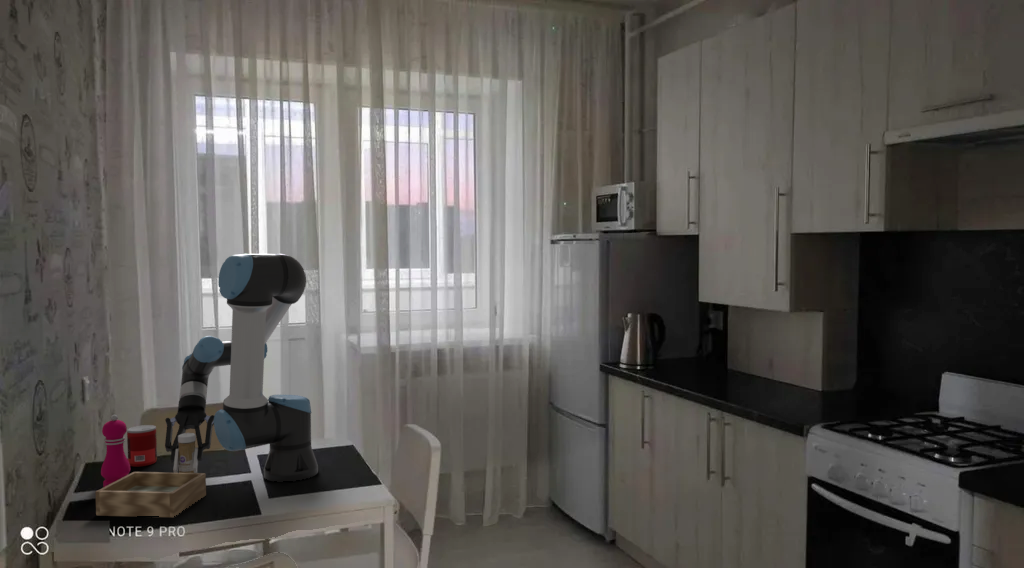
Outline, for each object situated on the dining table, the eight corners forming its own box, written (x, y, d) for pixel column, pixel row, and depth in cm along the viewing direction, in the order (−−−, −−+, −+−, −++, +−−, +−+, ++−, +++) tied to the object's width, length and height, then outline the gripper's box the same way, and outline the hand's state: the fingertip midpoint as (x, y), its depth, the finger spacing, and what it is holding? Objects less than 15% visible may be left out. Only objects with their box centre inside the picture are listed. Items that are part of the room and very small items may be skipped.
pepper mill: (118, 490, 198) (115, 418, 197) (95, 489, 200) (92, 417, 199) (136, 482, 206) (134, 412, 205) (114, 480, 207) (112, 411, 206)
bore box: (206, 495, 195) (205, 473, 194) (173, 517, 179) (173, 493, 178) (134, 493, 196) (133, 471, 196) (96, 515, 180) (95, 491, 180)
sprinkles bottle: (176, 483, 204) (175, 436, 203) (183, 478, 209) (181, 432, 208) (192, 483, 204) (191, 436, 204) (199, 478, 209) (198, 432, 208)
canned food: (162, 461, 225) (161, 426, 225) (137, 468, 219) (136, 432, 218) (148, 458, 229) (147, 423, 229) (123, 464, 223) (121, 429, 222)
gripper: (224, 405, 223) (219, 475, 208) (162, 409, 218) (153, 480, 203) (222, 391, 217) (217, 461, 202) (158, 395, 213) (148, 467, 197)
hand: (185, 471), depth 203 cm, fingers closed on sprinkles bottle, 4 cm apart
